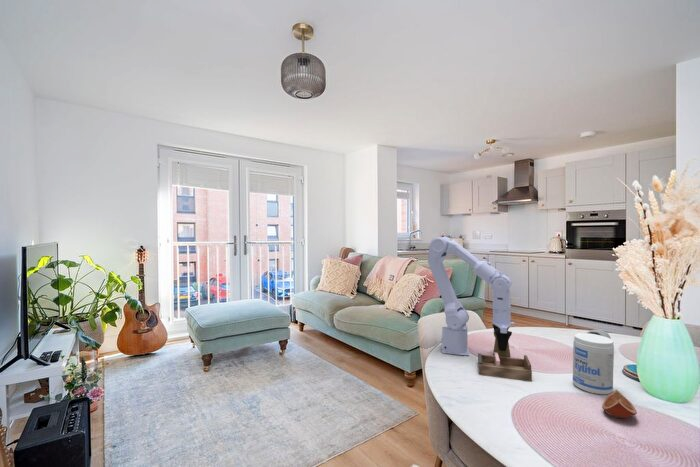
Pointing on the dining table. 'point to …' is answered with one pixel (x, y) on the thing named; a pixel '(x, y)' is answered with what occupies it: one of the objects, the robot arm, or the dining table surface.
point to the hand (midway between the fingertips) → (501, 347)
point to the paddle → (497, 360)
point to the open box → (505, 367)
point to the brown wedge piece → (618, 405)
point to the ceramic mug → (599, 333)
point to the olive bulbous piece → (496, 350)
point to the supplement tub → (593, 363)
